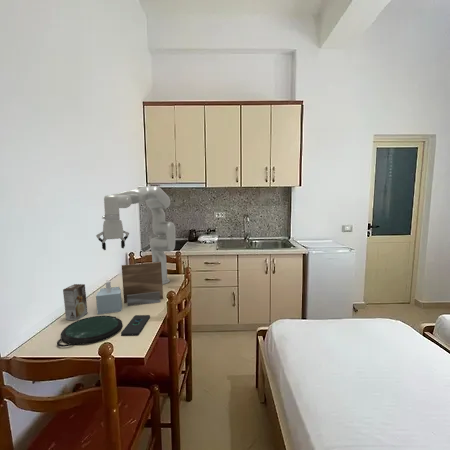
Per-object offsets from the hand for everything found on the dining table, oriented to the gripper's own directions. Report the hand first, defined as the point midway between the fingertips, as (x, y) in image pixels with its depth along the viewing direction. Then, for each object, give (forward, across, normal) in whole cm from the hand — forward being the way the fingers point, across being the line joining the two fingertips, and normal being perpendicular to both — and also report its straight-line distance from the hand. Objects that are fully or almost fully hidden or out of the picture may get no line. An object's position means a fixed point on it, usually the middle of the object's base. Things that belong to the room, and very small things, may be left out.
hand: (113, 249), depth 171 cm
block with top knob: (+33, -3, -1) cm, 33 cm away
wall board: (+32, +15, -3) cm, 35 cm away
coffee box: (+33, -20, -1) cm, 39 cm away
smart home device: (+34, +1, -31) cm, 46 cm away
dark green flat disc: (+34, -18, -25) cm, 46 cm away
